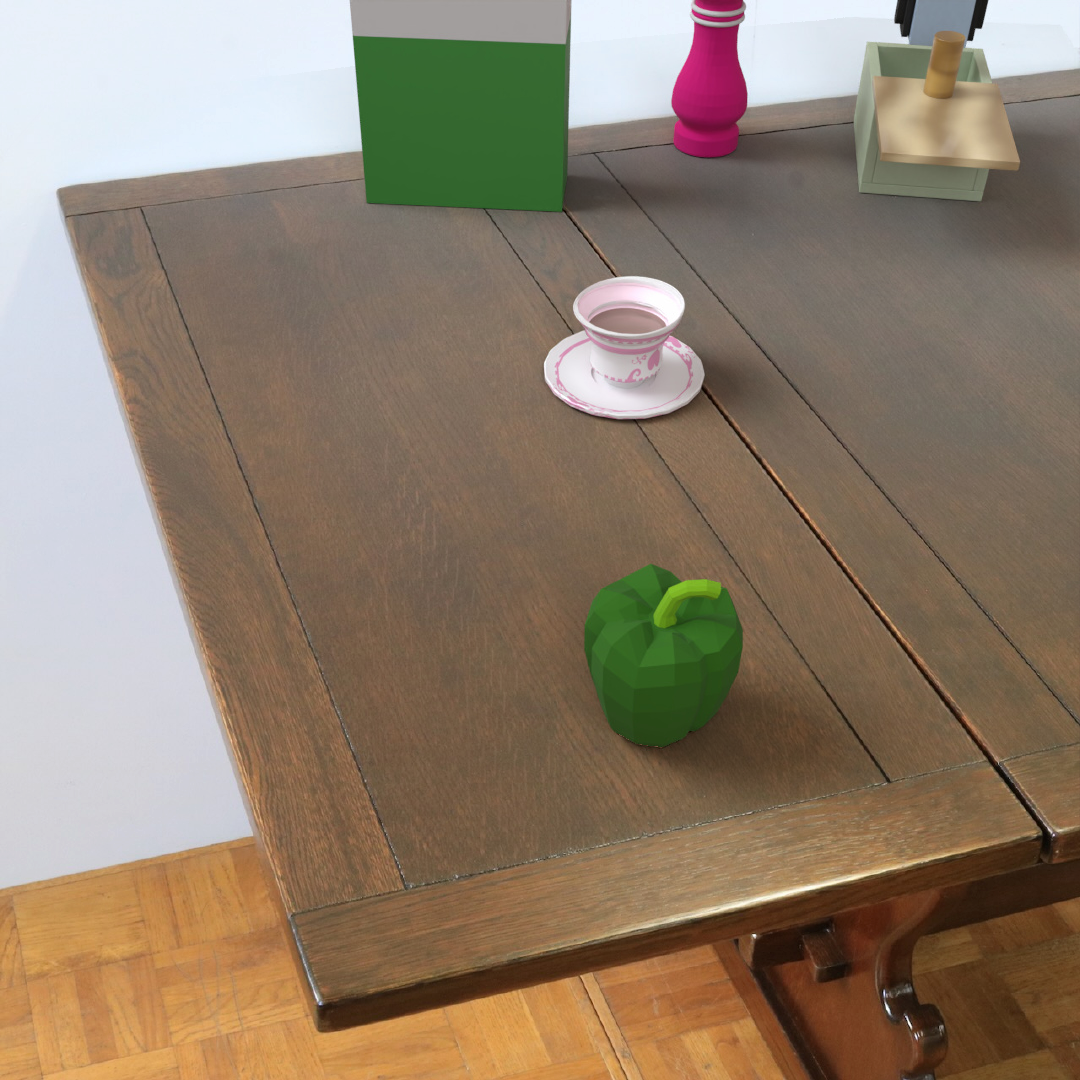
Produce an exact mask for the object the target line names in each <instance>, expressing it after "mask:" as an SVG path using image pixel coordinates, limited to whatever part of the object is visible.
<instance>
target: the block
mask: <svg viewBox="0 0 1080 1080" xmlns="http://www.w3.org/2000/svg"><path fill="white" fill-rule="evenodd" d="M975 3H976V0H916V4H915V9H914V14H913V19H912V25H911V30H910V35H909V36H907V39H908V44H909V45H922V46H932V45H933V40H934V35H935V33H937V32H939V31H954V32H958V33H961V34H963V35H964V36H965V43H964V48H967V43H968V41H967V39H968V34H969V30H970V25H971V21H972V16H973V12H974V7H975Z"/></svg>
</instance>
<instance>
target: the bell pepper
mask: <svg viewBox="0 0 1080 1080" xmlns="http://www.w3.org/2000/svg"><path fill="white" fill-rule="evenodd" d="M583 631H584V633H583V634H584V635H583V637H584V638H583V639H584V640H583V644H584V648H583V651H584V655H585V658H586V661H587V665H588V669H589V674H590V676H591V679H592V682H593V685H594V688H595V691H596V696H597V698H598V701H599V703H600V706H601V709H602V711H603V714H604V716H605V718H606V721H607V723H608V725H609V727H610V729H611V730H612V731H613V732H614V733H615V732H616V733H618V734H620V735H622V736H624V737H625V738H627V739H629V740H630V741H632V742H634V743H636V744H642V745H648V746H658V747H664V746H666V747H668V746H670V745H672V744H671V743H673V742H675V743H677V742H679V741H681V740H683V739H684V738H686V737H687V735H688V733H690V732H689V731H694V732H696V731H698V730H700V729H702V728H703V727H704V726H705V725H706V724H707V723H709V721H710V720H711V719H712V718H714V717H715V716H716V715H717V713H718V712H719V711H720V709H721V706H722V705H723V704H724V701H726V699H727V696H728V694H729V693H730V690H731V688H732V686H733V684H734V682H735V680H736V678H737V676H738V675H739V670H740V664H741V659H742V653H743V647H744V644H743V643H744V628H743V626H742V623H741V620H740V617H739V614H738V612H737V609H736V607H735V604H734V601H733V599H732V597H731V595H730V592H729V591H728V588H726V587H723V586H722V583H721V582H719V581H714V580H711V579H706V578H703V579H686V580H683V581H682V580H680V579H679V577H678V576H676V575H675V574H674V573H673V572H672V571H670V570H668V569H665V568H663V567H661V566H658V565H655V564H653V563H649V564H647V565H645V566H643V567H640V568H639V569H637V570H636V571H633V572H632V573H630V574H628V575H626V576H624V577H622V578H620V579H617V580H616V581H614V582H611V583H610V584H608V585H606V586H604V587H602V588H601V589H600V590H599V591H598V592H597V594H596V595H595V597H594V598H593V599H592V601H591V604H590V606H589V610H588V613H587V617H586V620H585V623H584V630H583ZM616 733H615V734H616ZM625 738H624V739H625ZM627 739H626V740H627ZM629 740H628V741H629ZM678 740H679V741H678ZM630 741H629V742H630ZM676 741H677V742H676ZM632 742H631V743H632ZM634 743H633V744H634ZM636 744H635V745H636ZM669 744H670V745H669ZM673 744H674V743H673ZM667 745H668V746H667ZM648 746H647V747H648ZM664 748H665V747H664Z"/></svg>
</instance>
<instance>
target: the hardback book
mask: <svg viewBox="0 0 1080 1080" xmlns="http://www.w3.org/2000/svg"><path fill="white" fill-rule="evenodd" d="M349 6H350V7H349V9H350V18H351V19H350V21H351V22H350V23H351V32H352V33H351V34H352V45H353V56H354V65H355V66H354V68H355V69H354V70H355V78H356V79H355V80H356V81H355V82H356V92H357V93H356V94H357V104H358V116H359V128H360V138H361V141H360V142H361V151H362V152H361V153H362V163H363V164H362V165H363V176H364V177H363V178H364V187H365V189H364V190H365V197H366V198H365V199H366V204H380V205H381V204H385V205H404V206H405V205H407V206H425V207H426V206H427V207H429V206H430V207H448V208H449V207H450V208H470V209H472V208H473V209H493V210H494V209H495V210H511V211H513V210H515V211H535V212H538V211H539V212H558V213H562V212H563V207H564V202H565V201H564V200H565V193H566V187H567V186H566V185H567V179H568V167H569V165H568V163H569V162H568V161H569V160H568V159H569V121H570V120H569V119H570V84H571V83H570V80H571V79H570V78H571V77H570V76H571V43H572V42H571V41H572V40H571V37H572V0H349Z"/></svg>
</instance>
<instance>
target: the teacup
mask: <svg viewBox="0 0 1080 1080" xmlns="http://www.w3.org/2000/svg"><path fill="white" fill-rule="evenodd" d="M572 305H573V306H572V310H573V314H574V316H575V318H576V319H577V321H579V323H580V325H581V327H583V330H581V331H579V332H576V333H573V334H572V335H569V336H567V337H565V338H563V339H562V340H560V341H559V342H558V343H557V344H556V345H554V346H553V347H552V348H551V349H550V350H549V352H548V353H547V356H546V358H545V360H544V362H543V373H544V381H545V383H546V384H547V386H548V387H549V389H550V390H551V392H552V393H553V395H554V396H556V397H557V398H558V399H559V400H561V401H563V402H564V403H565V404H566V405H568V406H570V407H571V408H573V409H576V410H579V411H581V412H584V413H587V414H590V415H592V416H596V417H603V418H608V419H615V420H645V419H649V418H653V417H659V416H662V415H663V416H664V415H668V414H671V413H673V412H674V411H677V410H679V409H680V408H683V407H685V406H687V405H688V404H689V403H690V402H691V401H692V400H693V399H694V398H696V396H697V395H698V394H699V393H700V392H701V390H702V387H703V384H704V382H705V381H704V380H705V377H706V374H705V369H704V366H703V361H702V359H701V358H700V357H699V356H698V354H696V352H695V351H694V350H693V349H692V347H690V346H689V345H688V344H686V343H684V342H682V341H681V340H679V338H676V337H674V336H673V335H671V334H672V333H673V332H674V331H675V330H676V328H678V326H679V325H680V323H681V322H682V319H683V315H684V313H685V310H686V302H685V299H684V297H683V295H682V294H681V292H680V291H679V290H678V289H677V288H675V287H674V286H673V285H671V284H670V283H667V282H665V281H663V280H660V279H656V278H653V277H647V276H638V275H626V276H617V277H616V276H615V277H612V278H607V279H604V280H600V281H597V282H595V283H592V284H591V285H589V286H587V287H585V288H584V289H583V290H582V291H581V292H580V293H579V294H578V295H577V296H576V297H575V300H574V302H573V304H572Z"/></svg>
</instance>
